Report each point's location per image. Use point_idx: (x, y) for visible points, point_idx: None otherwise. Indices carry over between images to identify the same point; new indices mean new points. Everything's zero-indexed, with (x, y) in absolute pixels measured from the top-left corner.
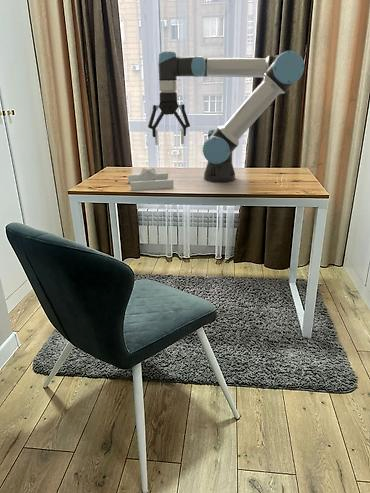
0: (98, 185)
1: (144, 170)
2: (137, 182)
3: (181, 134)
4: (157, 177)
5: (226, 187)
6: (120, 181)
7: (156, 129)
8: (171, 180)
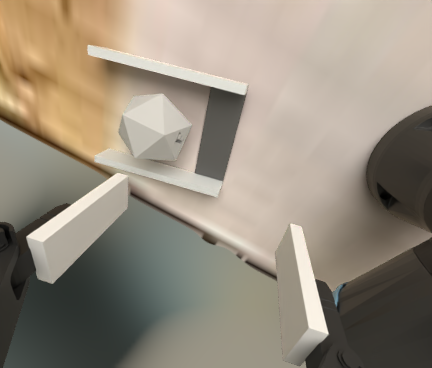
0: (14, 44)
1: (127, 138)
2: (114, 166)
3: (288, 291)
4: (183, 143)
5: (349, 254)
6: (80, 15)
7: (44, 259)
8: (212, 194)
